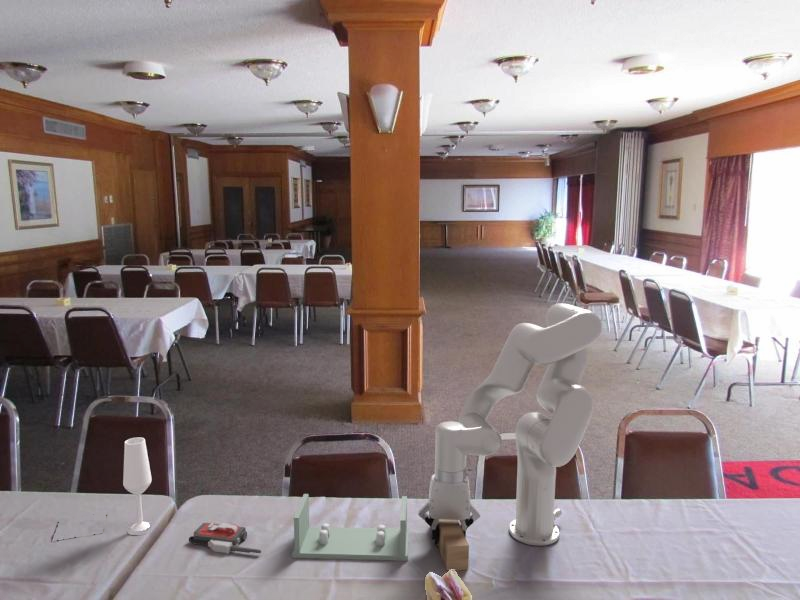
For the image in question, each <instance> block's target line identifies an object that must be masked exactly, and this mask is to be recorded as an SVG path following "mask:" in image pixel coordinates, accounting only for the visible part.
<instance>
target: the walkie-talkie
mask: <svg viewBox="0 0 800 600" xmlns="http://www.w3.org/2000/svg"><path fill="white" fill-rule="evenodd" d="M247 537H248V531H247V530H246V527H245V526H240V525H238V524H235V523H226V522H222V523H213V522H202V524H201V525H200V526H198V527H197V528H196V529H195V530H194V531H193V534H192V535H191V536H190V537H188V542H189V543H193V544H194V545H199V544H200V545H199V546H205V547H206V546H207V547H208V548H210V549H211V550H212V551H213V552H214V553H224V554H227V555H229V554H230V553H231V552H239V553H246V554H250V553H255V554H262V550H261V549H259V548H250V547H243V546H242V547H241V546H239V545H240V544H241V542H242V541H245V540H246V539H247Z"/></svg>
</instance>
